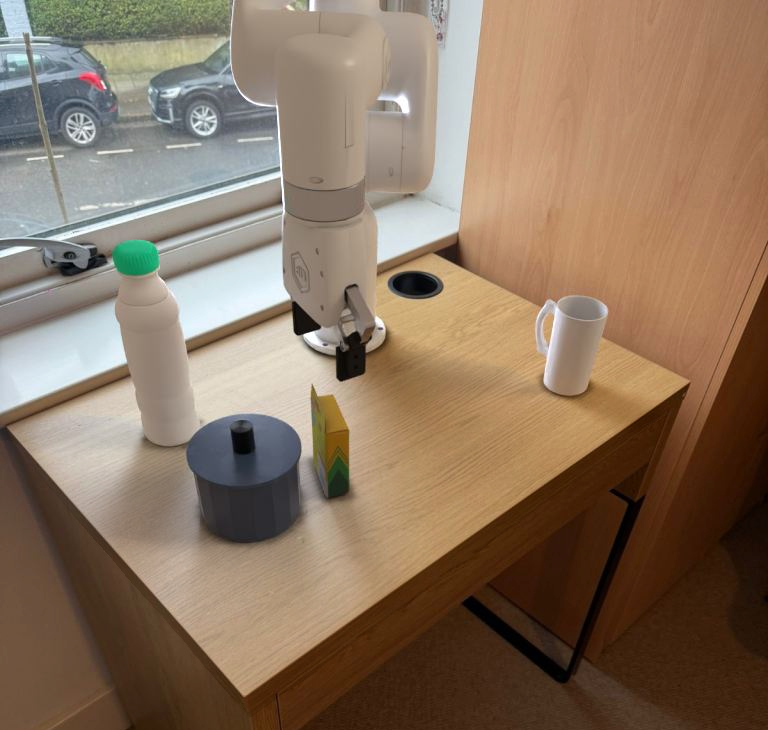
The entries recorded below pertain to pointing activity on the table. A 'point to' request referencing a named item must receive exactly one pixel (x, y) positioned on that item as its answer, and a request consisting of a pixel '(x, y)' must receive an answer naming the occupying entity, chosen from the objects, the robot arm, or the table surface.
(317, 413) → the crayon box
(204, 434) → the pot lid
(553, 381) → the mug
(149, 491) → the table surface
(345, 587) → the table surface
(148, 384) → the water bottle
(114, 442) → the table surface
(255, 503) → the pot
